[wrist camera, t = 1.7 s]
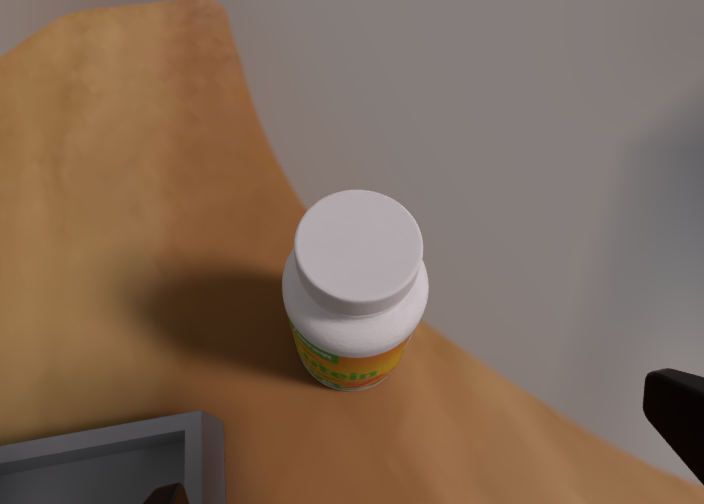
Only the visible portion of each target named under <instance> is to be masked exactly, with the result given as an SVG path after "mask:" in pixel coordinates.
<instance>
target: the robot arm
mask: <svg viewBox="0 0 704 504" xmlns="http://www.w3.org/2000/svg"><path fill="white" fill-rule="evenodd" d="M643 411H644V414H645V416H646V417H647V419H648V421H649V422H650V423H651V424H652V425H653V426H654V428H655V429H656V430H657V431H658V432H659V434H660V435H661V436H662V437H663V438H664V439H665V440H666V442H667V443H668V444H669V445H670V446H671V447H672V449H673V450H674V451H675V452H676V453H677V455H678V456H679V457H680V458H681V459H682V461H683V462H684V463H685V464H686V465H687V466H688V468H689V469H690V470H691V471H692V472H693V473H694V474H695V476H696V477H697V478H698V479H699V480H700V482H701V483H702V484H703V485H704V377H701V376H697V375H693V374H689V373H686V372H682V371H678V370H674V369H669V368H666V369H661V370H657V371H652V372H650V373H648V374H647V376H646V378H645V386H644V397H643ZM142 504H189V501H188V498H187V494H186V491H185V488H184V486H183V485H182V484H181V483H174V484H169V485H165V486H161V487H158V488H156V489H155V490H154V491H153V492H152V493H151V494H150V495H149V496H148V498H147V499H146V500H145V501H144V502H143V503H142Z"/></svg>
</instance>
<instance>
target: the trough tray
mask: <svg viewBox="0 0 704 504" xmlns="http://www.w3.org/2000/svg"><path fill="white" fill-rule="evenodd" d="M174 483H181V484H182V485H183V486H184V488H185V491H186V494H187V498H188V501H189V504H226V499H225V466H224V433H223V421H221V420H219V419H217V418H215V417H213V416H211V415H210V414H208V413H206V412H204V411H202V410H199V411H193V412H188V413H182V414H176V415H171V416H165V417H160V418H154V419H148V420H143V421H137V422H132V423H126V424H120V425H115V426H109V427H104V428H98V429H92V430H87V431H81V432H76V433H70V434H64V435H59V436H53V437H48V438H42V439H36V440H31V441H25V442H20V443H14V444H8V445H3V446H0V504H142V503H143V502H144V501H145V500H146V499H147V498H148V496H149V495H150V494H151V493H152V492H153V491H154V490H155V489H156V488H158V487H161V486H165V485H169V484H174Z"/></svg>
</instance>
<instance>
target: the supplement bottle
mask: <svg viewBox="0 0 704 504" xmlns="http://www.w3.org/2000/svg"><path fill="white" fill-rule="evenodd" d="M422 256H423V242H422V236H421V232H420V230H419V227H418V225H417V223H416V221H415V219H414V218H413V217H412V215H411V214H410V213H409V212H408V211H407V210H406V209H405V208H404V207H403V206H402V205H401V204H399V203H398V202H396V201H395V200H393V199H392V198H390V197H388V196H385V195H383V194H380V193H377V192H372V191H367V190H346V191H341V192H337V193H334V194H331V195H329V196H326V197H325V198H323V199H321V200H320V201H318V202H316V203H315V204H314V205H313V206H312V207H311V208H310V209H309V210H308V211H307V212H306V213H305V214H304V216H303V217H302V219H301V220H300V222H299V224H298V227H297V230H296V233H295V238H294V248H293V250H292V251H291V253H290V255H289V257H288V259H287V261H286V264H285V267H284V271H283V276H282V294H283V301H284V306H285V309H286V313H287V316H288V319H289V322H290V325H291V329H292V333H293V336H294V340H295V343H296V347H297V351H298V353H299V356H300V358H301V361H302V363H303V364H304V366H305V367H306V369H307V370H308V371H309V373H310V374H311V375H312V376H313V377H314V378H316V379H317V380H318V381H320V382H321V383H323V384H324V385H326V386H329V387H331V388H334V389H337V390H342V391H359V390H364V389H367V388H370V387H372V386H375V385H377V384H378V383H380V382H381V381H383V380H384V379H385V378H386V377H387V376H388V375H389V374H390V373H391V372H392V371H393V370H394V368H395V367H396V365H397V364H398V362H399V360H400V358H401V356H402V354H403V352H404V350H405V348H406V346H407V344H408V342H409V340H410V338H411V336H412V334H413V332H414V331H415V329H416V327H417V325H418V323H419V321H420V320H421V317H422V315H423V312H424V310H425V306H426V303H427V298H428V277H427V272H426V268H425V265H424V262H423V260H422Z"/></svg>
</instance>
